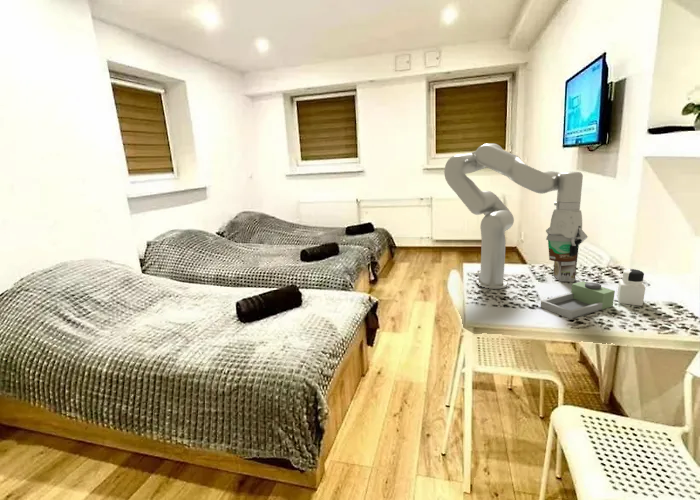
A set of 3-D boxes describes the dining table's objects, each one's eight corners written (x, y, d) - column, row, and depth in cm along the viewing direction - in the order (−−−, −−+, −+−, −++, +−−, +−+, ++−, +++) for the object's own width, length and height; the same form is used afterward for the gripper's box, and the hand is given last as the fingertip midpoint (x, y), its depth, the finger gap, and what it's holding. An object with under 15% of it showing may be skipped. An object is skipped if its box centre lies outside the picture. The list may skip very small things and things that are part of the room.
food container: (553, 263, 138) (554, 236, 136) (545, 259, 144) (546, 234, 142) (587, 261, 137) (589, 234, 136) (577, 258, 143) (579, 232, 142)
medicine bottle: (639, 299, 140) (644, 268, 137) (642, 306, 134) (647, 274, 131) (616, 296, 144) (620, 266, 141) (618, 303, 138) (622, 272, 135)
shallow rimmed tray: (540, 306, 138) (542, 289, 136) (581, 295, 146) (583, 278, 144) (570, 319, 127) (572, 299, 125) (612, 306, 135) (615, 288, 134)
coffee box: (575, 281, 161) (579, 245, 157) (559, 281, 162) (562, 245, 158) (568, 275, 170) (571, 240, 166) (552, 274, 171) (555, 240, 167)
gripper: (540, 205, 143) (537, 250, 147) (584, 209, 128) (579, 260, 132) (553, 203, 146) (550, 247, 150) (598, 207, 131) (593, 256, 135)
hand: (564, 253), depth 141 cm, fingers closed on food container, 6 cm apart
